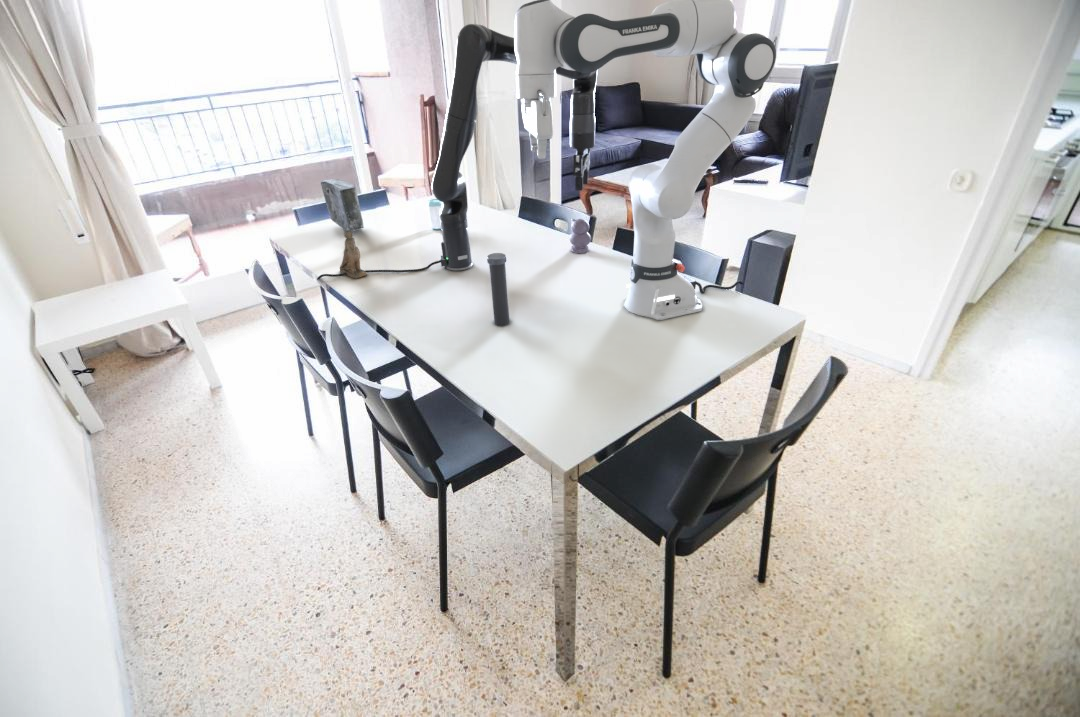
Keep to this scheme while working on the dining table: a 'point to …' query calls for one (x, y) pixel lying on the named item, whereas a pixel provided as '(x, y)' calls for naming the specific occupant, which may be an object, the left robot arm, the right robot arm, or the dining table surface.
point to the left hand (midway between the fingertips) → (581, 186)
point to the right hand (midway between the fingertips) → (538, 155)
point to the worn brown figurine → (351, 258)
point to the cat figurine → (579, 236)
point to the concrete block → (342, 204)
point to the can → (434, 213)
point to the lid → (496, 259)
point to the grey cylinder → (499, 294)
